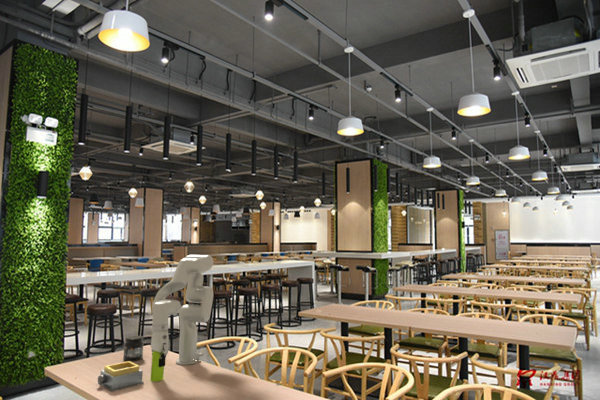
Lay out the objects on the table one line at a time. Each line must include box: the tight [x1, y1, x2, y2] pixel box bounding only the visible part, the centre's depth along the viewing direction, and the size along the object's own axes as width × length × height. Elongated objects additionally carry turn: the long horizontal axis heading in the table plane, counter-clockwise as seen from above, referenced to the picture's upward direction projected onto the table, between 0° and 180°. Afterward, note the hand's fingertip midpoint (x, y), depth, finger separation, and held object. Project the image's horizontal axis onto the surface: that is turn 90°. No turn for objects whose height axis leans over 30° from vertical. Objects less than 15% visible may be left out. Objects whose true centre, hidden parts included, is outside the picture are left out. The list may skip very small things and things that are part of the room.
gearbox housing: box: [97, 361, 144, 392], centre depth 195 cm, size 17×15×8 cm
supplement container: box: [123, 335, 144, 362], centre depth 237 cm, size 10×10×12 cm
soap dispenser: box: [150, 350, 165, 382], centre depth 202 cm, size 6×7×20 cm
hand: (158, 364), depth 202 cm, fingers closed on soap dispenser, 6 cm apart
